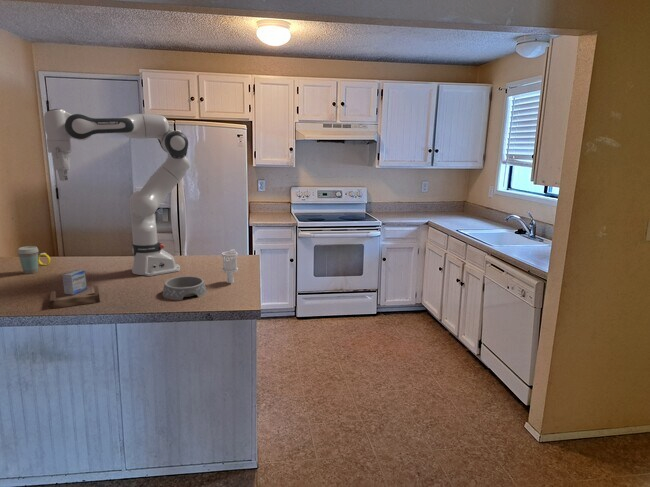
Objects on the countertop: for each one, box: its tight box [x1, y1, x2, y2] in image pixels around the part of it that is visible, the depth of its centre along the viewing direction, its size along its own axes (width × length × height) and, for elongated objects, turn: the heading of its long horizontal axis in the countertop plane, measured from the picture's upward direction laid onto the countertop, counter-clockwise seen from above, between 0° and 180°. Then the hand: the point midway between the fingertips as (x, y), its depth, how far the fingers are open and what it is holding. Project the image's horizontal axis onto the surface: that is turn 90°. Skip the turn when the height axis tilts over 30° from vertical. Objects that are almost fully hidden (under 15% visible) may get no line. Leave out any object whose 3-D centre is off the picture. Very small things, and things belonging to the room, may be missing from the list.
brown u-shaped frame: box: [49, 285, 101, 310], centre depth 180 cm, size 17×12×3 cm
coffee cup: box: [17, 245, 40, 275], centre depth 213 cm, size 9×9×12 cm
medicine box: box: [62, 269, 88, 296], centre depth 189 cm, size 8×4×9 cm, turn 168°
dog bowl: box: [162, 275, 207, 301], centre depth 191 cm, size 17×18×5 cm
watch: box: [38, 252, 52, 266], centre depth 226 cm, size 6×3×6 cm, turn 87°
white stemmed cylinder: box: [221, 248, 239, 284], centre depth 205 cm, size 7×7×15 cm
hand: (64, 180), depth 194 cm, fingers open, 8 cm apart
